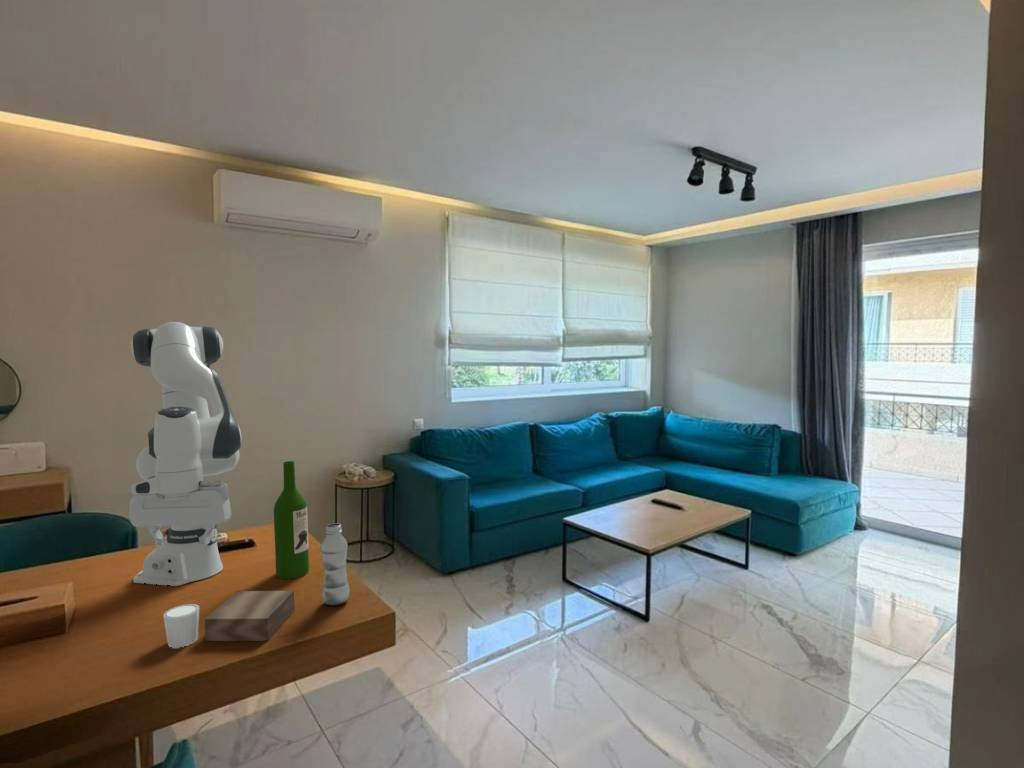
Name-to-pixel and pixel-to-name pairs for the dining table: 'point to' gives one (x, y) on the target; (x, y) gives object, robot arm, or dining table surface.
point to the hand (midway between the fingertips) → (182, 544)
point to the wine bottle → (291, 529)
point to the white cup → (182, 625)
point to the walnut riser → (249, 616)
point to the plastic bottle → (334, 566)
